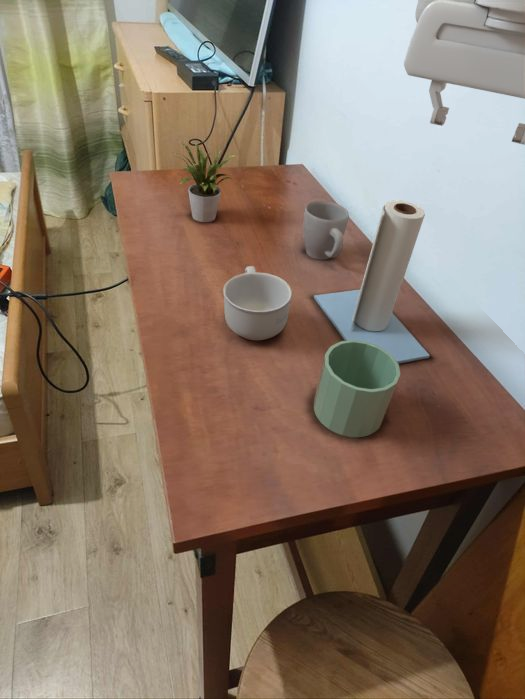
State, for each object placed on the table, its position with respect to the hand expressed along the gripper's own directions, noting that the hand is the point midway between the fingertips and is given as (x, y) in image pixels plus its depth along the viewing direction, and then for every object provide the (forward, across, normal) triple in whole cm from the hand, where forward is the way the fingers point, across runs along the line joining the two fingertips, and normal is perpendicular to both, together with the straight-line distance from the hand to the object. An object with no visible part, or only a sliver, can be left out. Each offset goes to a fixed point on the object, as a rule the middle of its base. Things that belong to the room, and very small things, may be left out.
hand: (476, 132), depth 60 cm
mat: (+36, -7, +6) cm, 37 cm away
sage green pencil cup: (+36, -3, -14) cm, 39 cm away
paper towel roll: (+35, -8, +7) cm, 37 cm away
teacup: (+36, -24, -5) cm, 43 cm away
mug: (+36, -23, +23) cm, 49 cm away
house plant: (+35, -53, +22) cm, 68 cm away
